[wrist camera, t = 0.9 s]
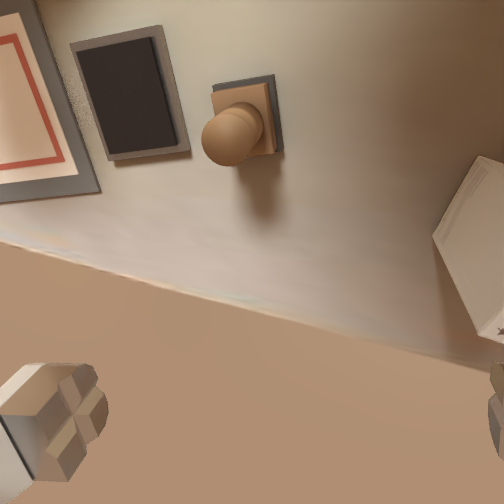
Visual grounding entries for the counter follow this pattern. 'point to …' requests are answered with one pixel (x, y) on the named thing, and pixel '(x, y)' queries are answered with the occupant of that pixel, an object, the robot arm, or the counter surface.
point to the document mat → (36, 115)
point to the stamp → (243, 121)
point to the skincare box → (477, 245)
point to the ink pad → (132, 93)
